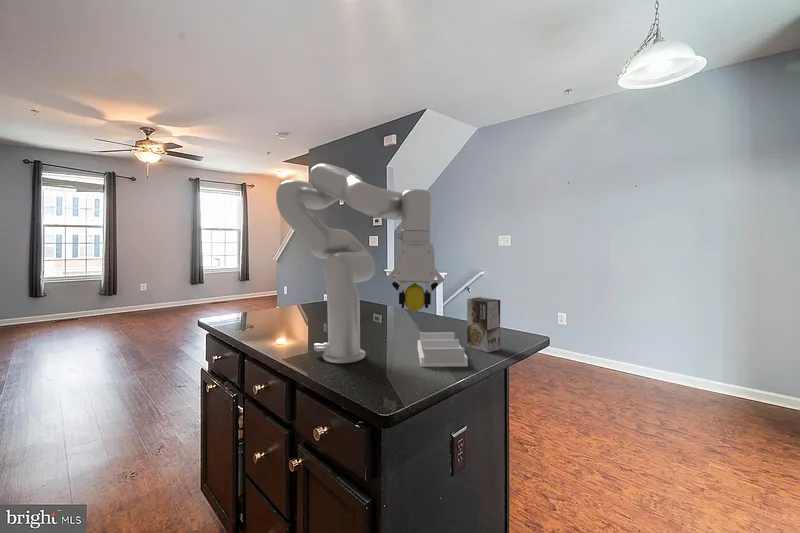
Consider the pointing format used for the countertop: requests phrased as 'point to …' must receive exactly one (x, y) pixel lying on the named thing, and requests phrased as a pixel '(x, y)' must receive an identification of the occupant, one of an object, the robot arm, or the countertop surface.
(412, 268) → the robot arm
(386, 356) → the countertop surface
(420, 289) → the lemon
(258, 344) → the countertop surface
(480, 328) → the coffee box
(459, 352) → the dish rack
